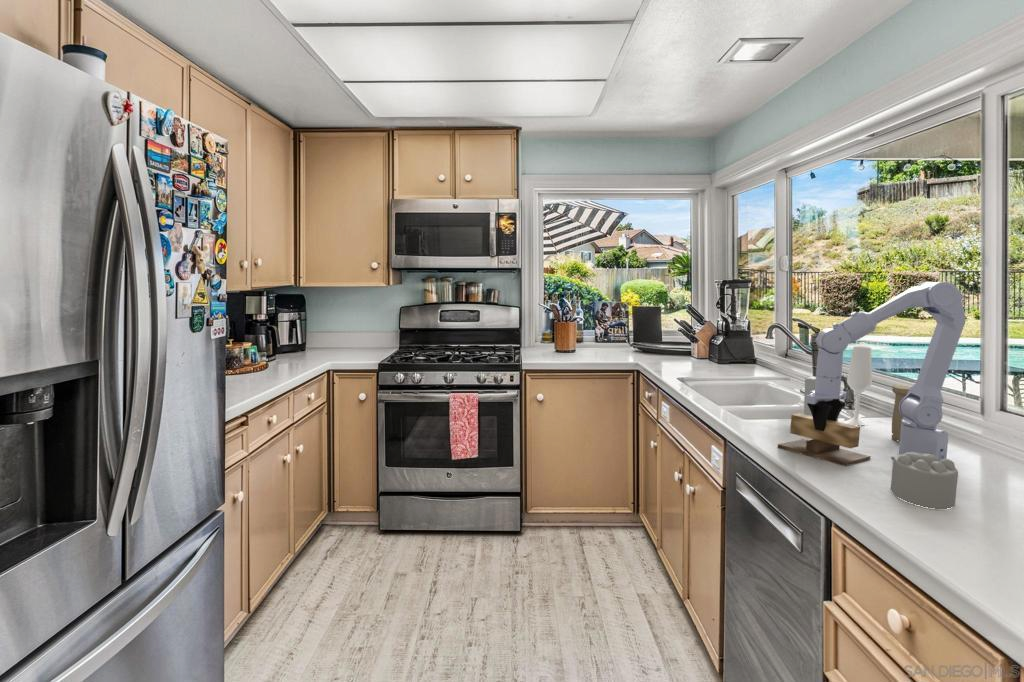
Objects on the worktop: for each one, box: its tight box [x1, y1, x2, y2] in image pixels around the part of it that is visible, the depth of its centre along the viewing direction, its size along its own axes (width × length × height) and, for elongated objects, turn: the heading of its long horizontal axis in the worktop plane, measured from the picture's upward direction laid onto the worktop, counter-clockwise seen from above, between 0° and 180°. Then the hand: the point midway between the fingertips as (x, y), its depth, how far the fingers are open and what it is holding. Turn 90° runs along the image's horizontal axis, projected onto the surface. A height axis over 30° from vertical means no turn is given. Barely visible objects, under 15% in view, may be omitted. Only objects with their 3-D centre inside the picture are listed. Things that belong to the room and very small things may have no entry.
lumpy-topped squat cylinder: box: [890, 452, 959, 509], centre depth 125 cm, size 10×13×9 cm
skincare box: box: [803, 375, 839, 422], centre depth 185 cm, size 8×6×15 cm
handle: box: [891, 384, 912, 441], centre depth 171 cm, size 5×6×15 cm
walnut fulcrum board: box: [777, 438, 871, 467], centre depth 157 cm, size 18×11×4 cm, turn 33°
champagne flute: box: [843, 345, 873, 425], centre depth 189 cm, size 7×7×24 cm
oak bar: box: [789, 412, 861, 449], centre depth 156 cm, size 16×4×5 cm, turn 33°
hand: (824, 429), depth 156 cm, fingers open, 3 cm apart
